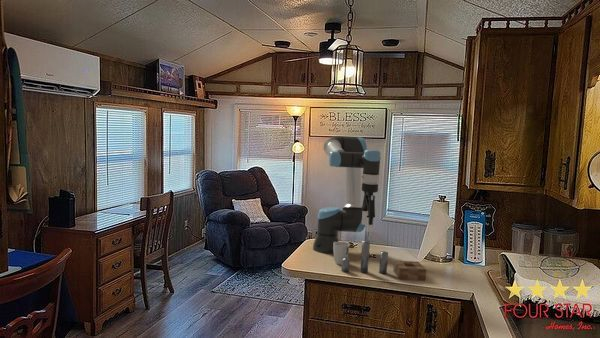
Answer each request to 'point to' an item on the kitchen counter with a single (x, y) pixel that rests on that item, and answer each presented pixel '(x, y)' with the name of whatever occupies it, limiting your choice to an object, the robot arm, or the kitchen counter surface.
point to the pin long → (365, 256)
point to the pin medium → (383, 262)
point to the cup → (340, 251)
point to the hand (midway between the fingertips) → (367, 227)
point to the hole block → (409, 270)
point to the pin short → (345, 264)
